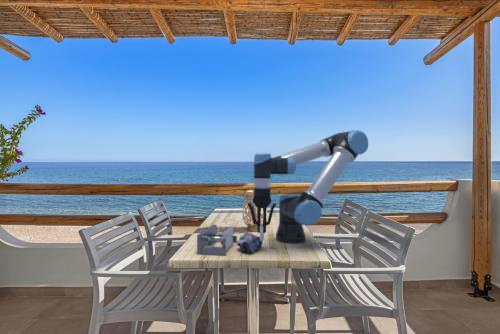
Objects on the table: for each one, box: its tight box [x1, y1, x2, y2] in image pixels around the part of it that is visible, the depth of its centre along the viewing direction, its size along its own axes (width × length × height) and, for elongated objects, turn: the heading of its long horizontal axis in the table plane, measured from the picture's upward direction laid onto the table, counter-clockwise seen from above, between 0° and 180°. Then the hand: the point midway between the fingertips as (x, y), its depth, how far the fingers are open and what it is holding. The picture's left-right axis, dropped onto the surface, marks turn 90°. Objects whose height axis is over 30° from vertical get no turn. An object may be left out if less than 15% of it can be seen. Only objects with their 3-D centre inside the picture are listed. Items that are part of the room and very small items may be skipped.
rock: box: [236, 231, 263, 254], centre depth 131 cm, size 14×10×10 cm
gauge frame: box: [196, 224, 238, 257], centre depth 135 cm, size 12×23×8 cm, turn 170°
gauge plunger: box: [208, 226, 235, 252], centre depth 135 cm, size 12×21×8 cm, turn 170°
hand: (261, 240), depth 131 cm, fingers closed
